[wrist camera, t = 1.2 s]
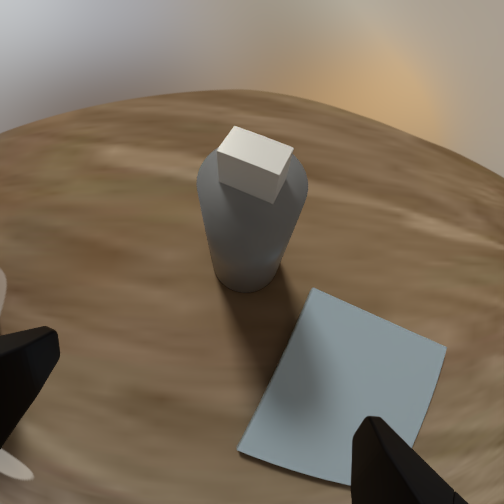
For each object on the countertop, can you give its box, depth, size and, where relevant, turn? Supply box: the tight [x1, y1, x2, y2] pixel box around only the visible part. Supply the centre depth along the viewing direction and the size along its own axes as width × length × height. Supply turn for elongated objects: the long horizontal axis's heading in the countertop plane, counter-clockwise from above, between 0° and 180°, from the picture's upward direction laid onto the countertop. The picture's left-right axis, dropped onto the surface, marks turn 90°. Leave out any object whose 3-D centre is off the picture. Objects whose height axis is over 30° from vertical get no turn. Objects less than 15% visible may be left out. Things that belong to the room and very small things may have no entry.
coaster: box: [237, 288, 447, 485], centre depth 18 cm, size 12×12×1 cm
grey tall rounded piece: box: [197, 126, 308, 293], centre depth 16 cm, size 5×5×12 cm
